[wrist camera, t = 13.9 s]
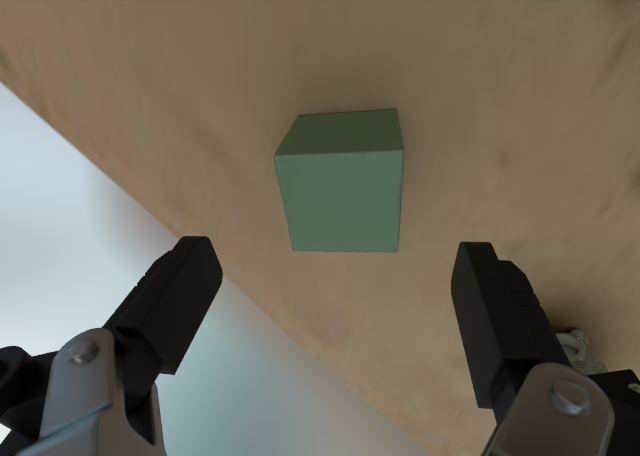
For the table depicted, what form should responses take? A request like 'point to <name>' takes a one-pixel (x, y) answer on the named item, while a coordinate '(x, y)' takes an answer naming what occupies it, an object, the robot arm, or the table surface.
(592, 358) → the pneumatic valve
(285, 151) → the cube
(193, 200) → the table surface
